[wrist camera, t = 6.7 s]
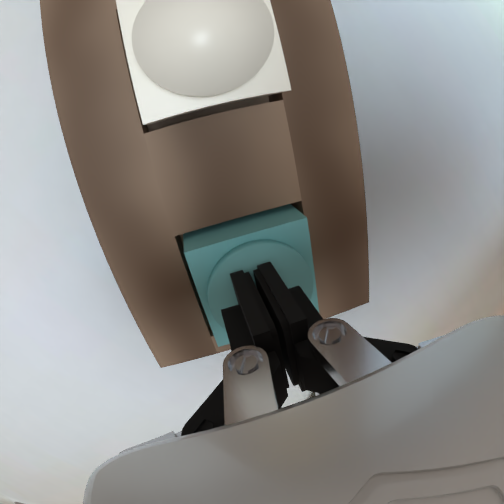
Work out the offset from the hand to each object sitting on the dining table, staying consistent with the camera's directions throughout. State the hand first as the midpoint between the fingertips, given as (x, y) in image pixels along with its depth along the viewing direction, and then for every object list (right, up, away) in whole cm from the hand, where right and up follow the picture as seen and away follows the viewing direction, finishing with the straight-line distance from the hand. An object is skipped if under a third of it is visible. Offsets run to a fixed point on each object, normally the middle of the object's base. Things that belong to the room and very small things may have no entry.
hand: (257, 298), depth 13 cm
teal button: (-1, +2, +3) cm, 4 cm away
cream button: (-2, +10, -2) cm, 10 cm away
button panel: (-3, +11, 0) cm, 11 cm away
